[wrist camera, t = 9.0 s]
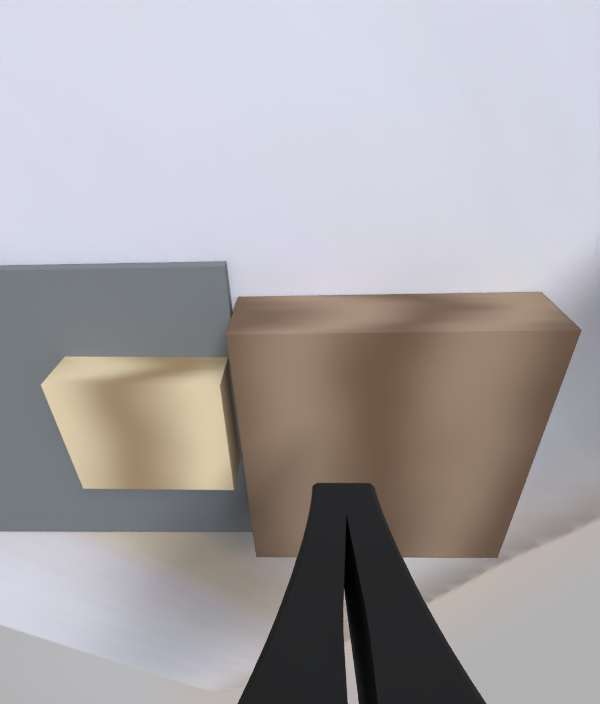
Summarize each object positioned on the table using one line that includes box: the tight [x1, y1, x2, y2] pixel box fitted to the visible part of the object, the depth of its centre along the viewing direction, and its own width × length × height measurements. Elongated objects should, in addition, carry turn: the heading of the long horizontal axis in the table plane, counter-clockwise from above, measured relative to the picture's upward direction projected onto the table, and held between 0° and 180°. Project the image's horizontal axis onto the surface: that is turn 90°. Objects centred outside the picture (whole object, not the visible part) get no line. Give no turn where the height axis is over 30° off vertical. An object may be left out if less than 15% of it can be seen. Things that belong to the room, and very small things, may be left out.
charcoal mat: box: [0, 261, 253, 532], centre depth 21 cm, size 16×16×1 cm
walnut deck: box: [226, 292, 581, 558], centre depth 20 cm, size 12×13×3 cm
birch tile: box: [41, 357, 240, 490], centre depth 19 cm, size 7×6×2 cm
